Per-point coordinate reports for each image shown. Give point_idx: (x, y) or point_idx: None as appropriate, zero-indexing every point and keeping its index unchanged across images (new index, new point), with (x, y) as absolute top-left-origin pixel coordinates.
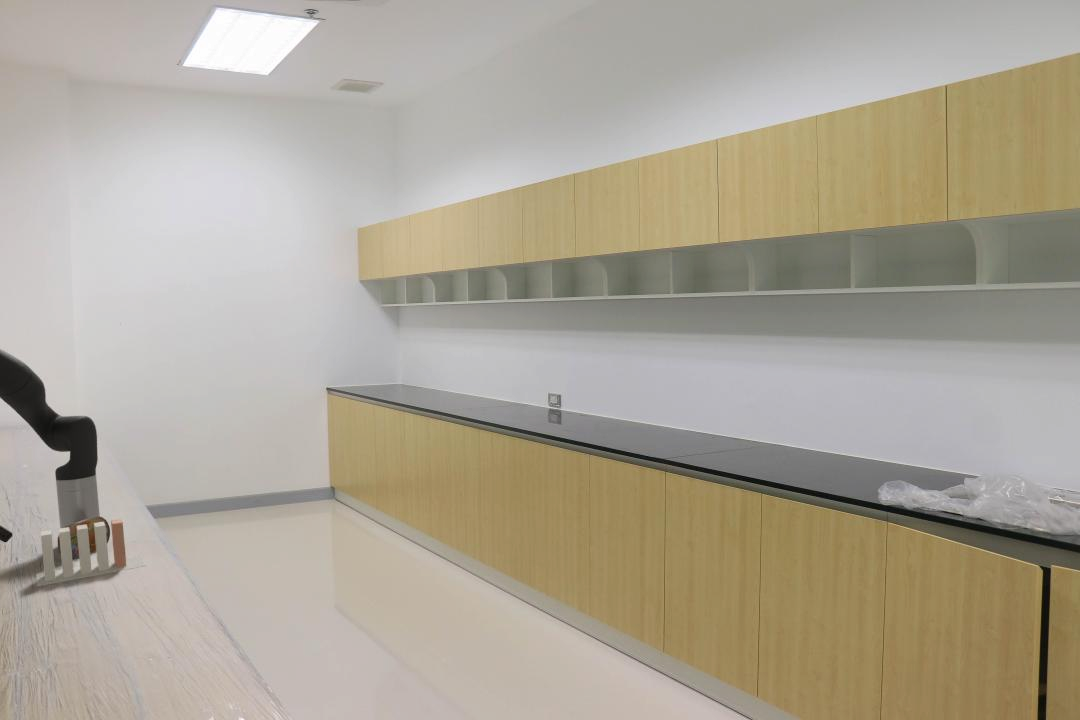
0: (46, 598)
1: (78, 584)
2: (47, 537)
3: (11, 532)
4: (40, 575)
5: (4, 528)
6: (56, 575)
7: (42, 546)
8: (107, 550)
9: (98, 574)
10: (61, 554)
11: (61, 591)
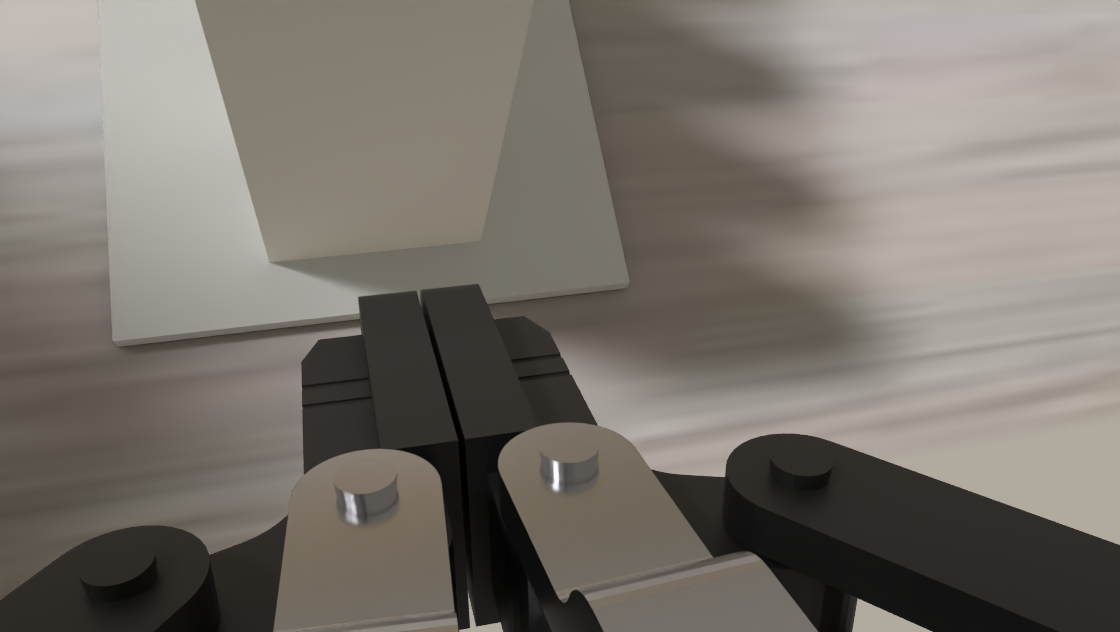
0: (961, 200)
1: (692, 28)
2: None
3: (381, 299)
4: (224, 298)
5: (432, 362)
6: None
7: (518, 58)
8: None
9: None
10: None
11: (825, 121)
